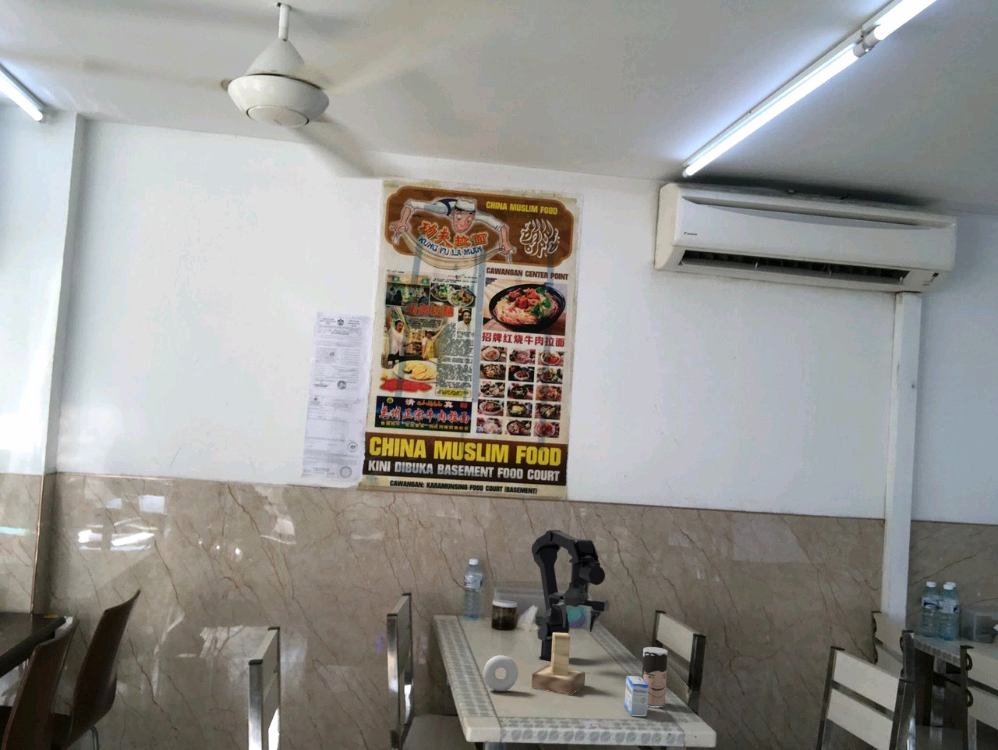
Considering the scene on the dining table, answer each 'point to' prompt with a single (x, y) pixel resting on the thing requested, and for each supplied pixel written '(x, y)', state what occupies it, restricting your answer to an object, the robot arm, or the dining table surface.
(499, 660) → the donut
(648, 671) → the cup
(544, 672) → the plinth
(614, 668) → the dining table surface
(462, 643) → the dining table surface
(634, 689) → the medicine box
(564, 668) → the oak block
